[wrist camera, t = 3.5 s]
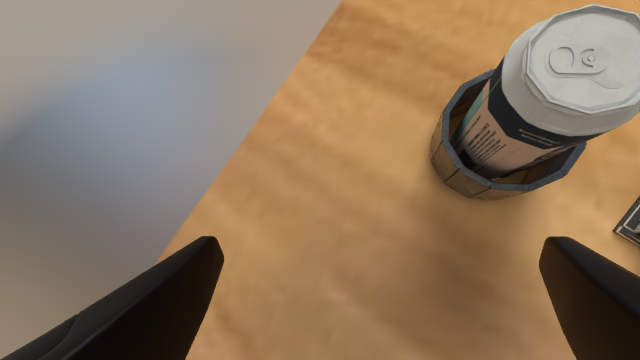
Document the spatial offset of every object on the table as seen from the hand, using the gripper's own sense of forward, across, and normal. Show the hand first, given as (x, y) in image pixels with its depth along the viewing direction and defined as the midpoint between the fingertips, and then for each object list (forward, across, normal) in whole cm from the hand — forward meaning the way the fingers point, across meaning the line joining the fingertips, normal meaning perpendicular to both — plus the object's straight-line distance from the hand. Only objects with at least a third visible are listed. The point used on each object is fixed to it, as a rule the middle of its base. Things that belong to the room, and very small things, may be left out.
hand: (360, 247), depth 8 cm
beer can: (+15, -8, +5) cm, 18 cm away
